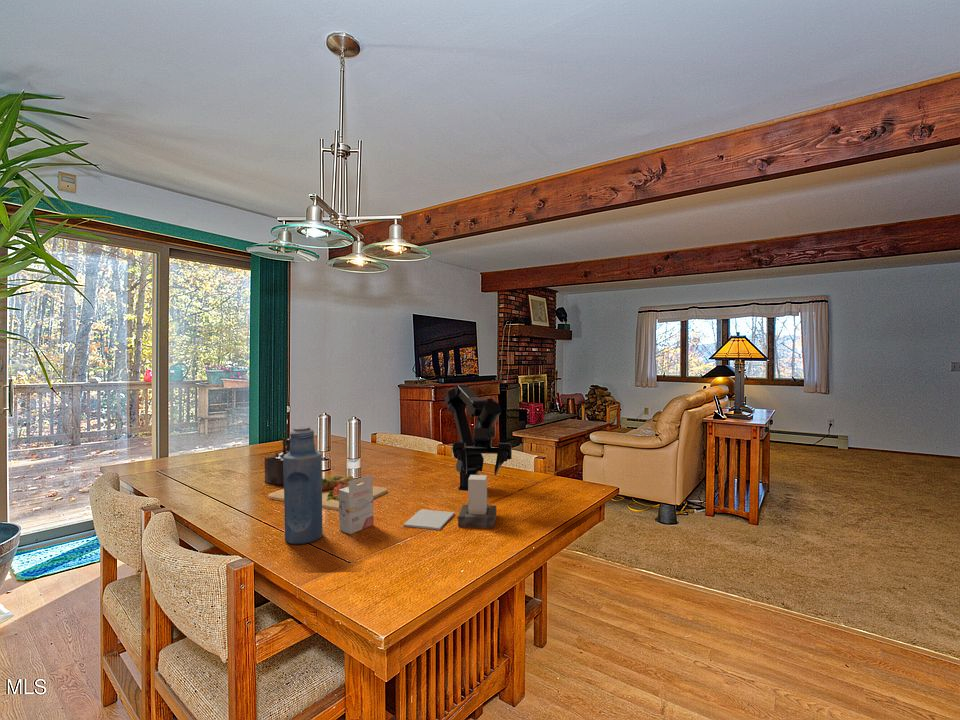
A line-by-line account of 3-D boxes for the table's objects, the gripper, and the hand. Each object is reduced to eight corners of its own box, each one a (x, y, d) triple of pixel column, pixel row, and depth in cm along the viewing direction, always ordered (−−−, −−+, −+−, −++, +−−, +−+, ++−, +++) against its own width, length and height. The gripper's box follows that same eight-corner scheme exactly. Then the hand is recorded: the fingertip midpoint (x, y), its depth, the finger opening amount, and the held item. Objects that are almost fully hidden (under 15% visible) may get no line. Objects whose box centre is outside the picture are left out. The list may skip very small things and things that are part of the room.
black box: (262, 482, 178) (261, 435, 178) (286, 475, 188) (286, 431, 188) (289, 488, 171) (288, 439, 170) (313, 480, 180) (313, 434, 180)
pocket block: (458, 526, 133) (458, 516, 133) (463, 514, 143) (463, 504, 143) (493, 528, 132) (493, 517, 132) (496, 515, 142) (496, 505, 142)
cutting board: (389, 493, 167) (389, 472, 167) (346, 514, 146) (346, 490, 145) (314, 482, 181) (314, 463, 181) (264, 500, 159) (264, 478, 159)
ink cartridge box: (362, 521, 137) (362, 472, 137) (374, 525, 134) (373, 474, 134) (338, 530, 131) (337, 478, 130) (349, 534, 128) (348, 481, 127)
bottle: (327, 530, 131) (326, 424, 130) (316, 545, 121) (314, 430, 120) (292, 531, 130) (291, 424, 130) (278, 546, 120) (277, 430, 120)
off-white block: (468, 523, 135) (468, 479, 135) (470, 517, 140) (470, 474, 140) (485, 524, 135) (485, 479, 134) (487, 518, 140) (487, 475, 139)
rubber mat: (403, 526, 133) (403, 524, 133) (421, 511, 146) (421, 509, 146) (439, 530, 131) (439, 527, 131) (454, 514, 143) (454, 512, 143)
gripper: (452, 417, 149) (447, 459, 138) (511, 417, 147) (509, 460, 136) (456, 437, 157) (451, 478, 146) (512, 437, 155) (511, 480, 144)
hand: (480, 474), depth 143 cm, fingers open, 9 cm apart
